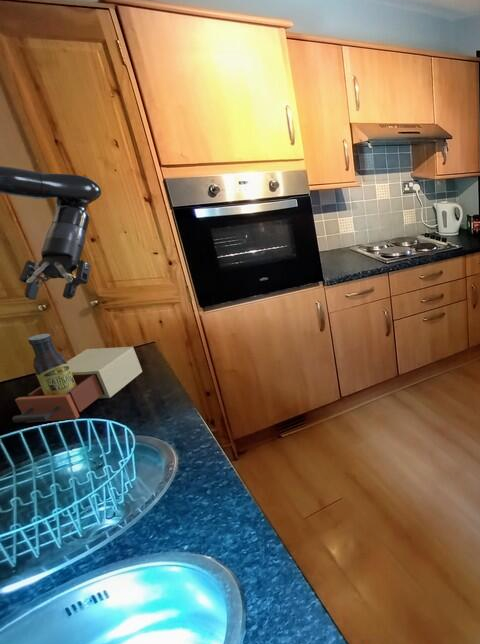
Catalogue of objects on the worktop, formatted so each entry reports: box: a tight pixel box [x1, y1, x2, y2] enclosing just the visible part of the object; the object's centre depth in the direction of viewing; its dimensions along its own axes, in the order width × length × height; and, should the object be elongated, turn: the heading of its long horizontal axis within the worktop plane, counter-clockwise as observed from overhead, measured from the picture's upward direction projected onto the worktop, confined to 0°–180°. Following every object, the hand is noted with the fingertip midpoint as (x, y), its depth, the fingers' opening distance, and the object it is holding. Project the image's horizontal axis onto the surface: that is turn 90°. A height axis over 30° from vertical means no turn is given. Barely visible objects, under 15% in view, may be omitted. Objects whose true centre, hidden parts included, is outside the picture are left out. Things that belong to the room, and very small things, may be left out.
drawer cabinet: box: [66, 346, 143, 400], centre depth 131 cm, size 15×13×9 cm
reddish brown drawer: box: [11, 374, 104, 423], centre depth 118 cm, size 19×12×7 cm, turn 7°
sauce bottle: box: [27, 333, 76, 396], centre depth 117 cm, size 6×6×20 cm
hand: (48, 298), depth 117 cm, fingers open, 8 cm apart
